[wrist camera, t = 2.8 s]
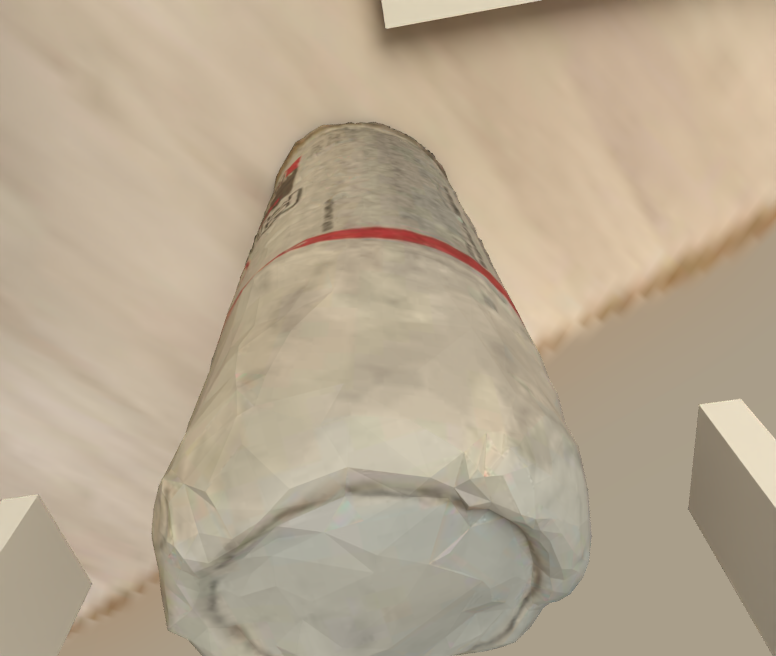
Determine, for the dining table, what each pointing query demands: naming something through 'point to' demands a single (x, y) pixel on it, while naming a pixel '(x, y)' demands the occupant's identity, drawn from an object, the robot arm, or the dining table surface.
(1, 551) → the robot arm
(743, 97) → the dining table surface
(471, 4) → the cream board
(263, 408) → the spray can
